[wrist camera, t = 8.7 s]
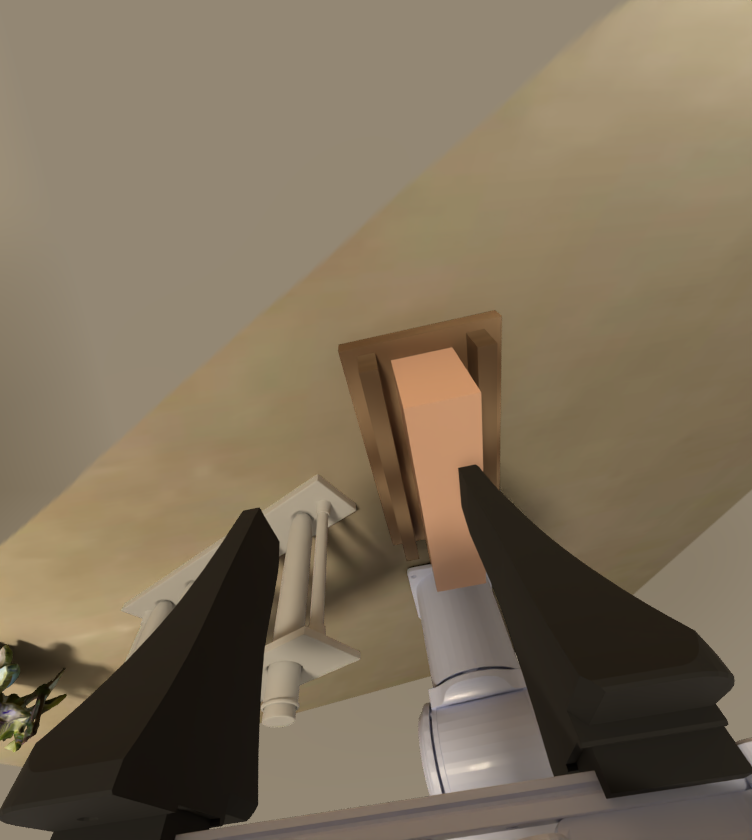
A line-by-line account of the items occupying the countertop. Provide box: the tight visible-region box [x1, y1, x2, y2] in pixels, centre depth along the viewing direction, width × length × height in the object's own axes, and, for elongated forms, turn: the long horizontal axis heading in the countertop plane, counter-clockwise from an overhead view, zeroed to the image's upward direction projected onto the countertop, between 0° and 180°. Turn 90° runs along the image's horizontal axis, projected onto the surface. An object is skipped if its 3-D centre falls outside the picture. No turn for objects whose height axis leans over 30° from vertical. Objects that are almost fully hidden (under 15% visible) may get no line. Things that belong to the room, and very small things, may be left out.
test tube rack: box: [121, 474, 360, 727], centre depth 25 cm, size 25×4×13 cm, turn 128°
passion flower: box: [0, 644, 67, 752], centre depth 35 cm, size 11×11×12 cm
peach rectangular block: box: [391, 347, 486, 592], centre depth 22 cm, size 16×4×5 cm, turn 11°
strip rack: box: [338, 310, 502, 561], centre depth 24 cm, size 18×9×3 cm, turn 11°
